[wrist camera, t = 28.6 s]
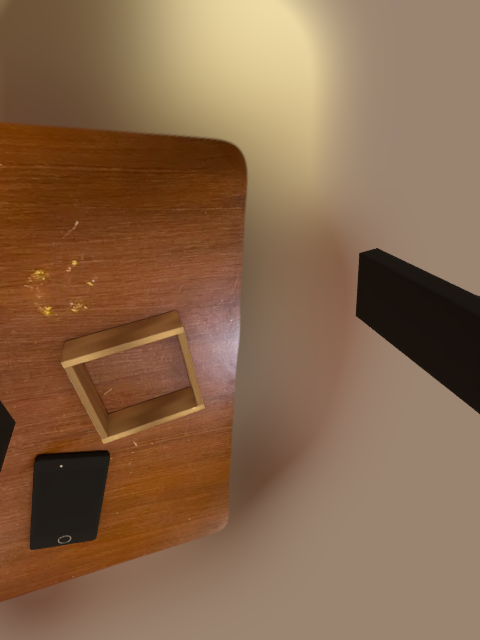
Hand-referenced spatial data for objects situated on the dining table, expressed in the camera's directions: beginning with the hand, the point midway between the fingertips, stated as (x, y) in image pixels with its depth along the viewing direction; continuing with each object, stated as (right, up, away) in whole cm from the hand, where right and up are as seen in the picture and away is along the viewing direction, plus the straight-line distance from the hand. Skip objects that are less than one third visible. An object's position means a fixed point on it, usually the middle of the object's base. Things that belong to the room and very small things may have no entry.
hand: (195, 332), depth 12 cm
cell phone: (-23, -25, +37) cm, 50 cm away
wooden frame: (-11, -5, +30) cm, 33 cm away
